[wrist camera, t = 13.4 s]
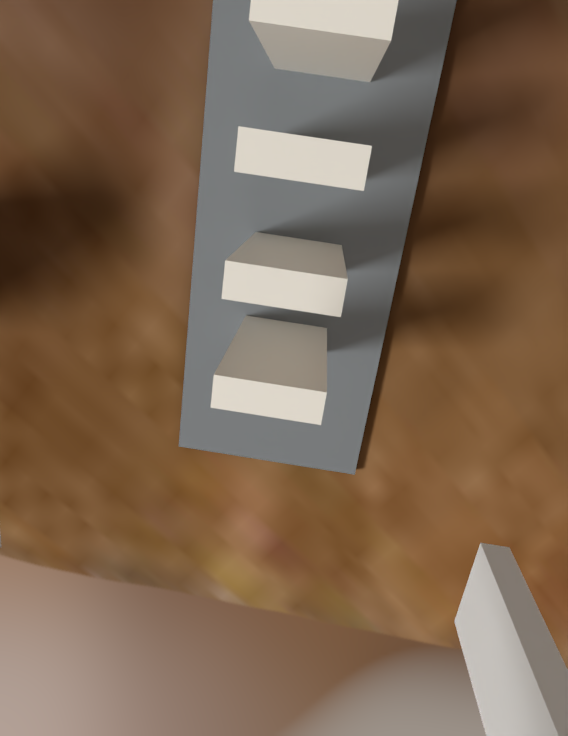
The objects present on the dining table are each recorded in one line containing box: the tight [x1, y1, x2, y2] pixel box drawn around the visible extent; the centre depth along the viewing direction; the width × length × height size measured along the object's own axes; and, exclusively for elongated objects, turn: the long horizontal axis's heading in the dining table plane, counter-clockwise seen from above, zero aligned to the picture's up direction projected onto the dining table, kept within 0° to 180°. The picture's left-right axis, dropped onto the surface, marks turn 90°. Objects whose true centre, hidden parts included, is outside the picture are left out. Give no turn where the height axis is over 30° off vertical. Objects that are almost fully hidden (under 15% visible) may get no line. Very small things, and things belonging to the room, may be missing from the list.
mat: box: [179, 0, 457, 475], centre depth 31 cm, size 34×12×1 cm, turn 172°
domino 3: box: [221, 232, 348, 317], centre depth 27 cm, size 2×5×10 cm, turn 82°
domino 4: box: [210, 316, 327, 425], centre depth 29 cm, size 2×5×10 cm, turn 82°
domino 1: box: [249, 0, 399, 82], centre depth 23 cm, size 2×5×10 cm, turn 82°
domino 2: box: [234, 126, 372, 191], centre depth 25 cm, size 2×5×10 cm, turn 82°
